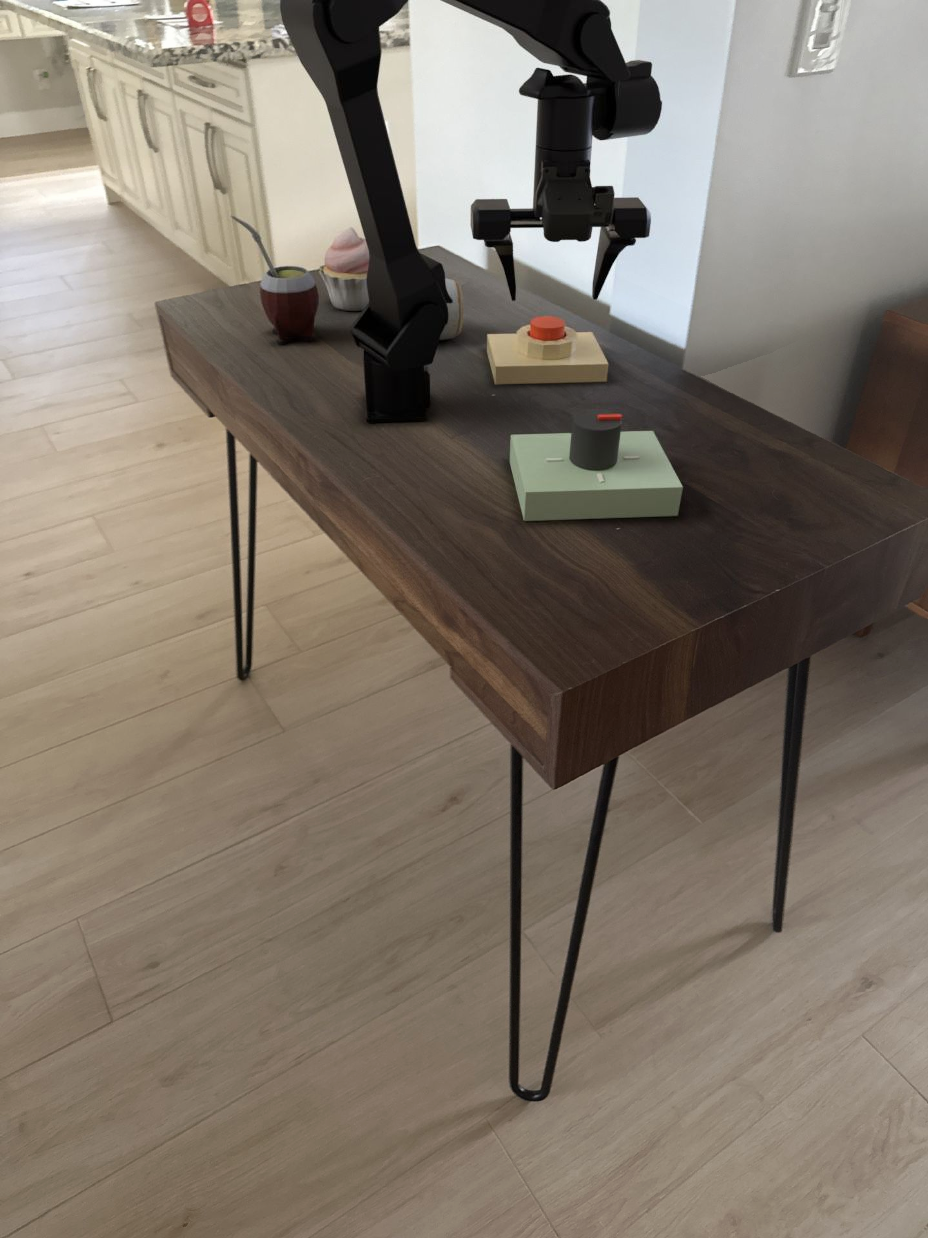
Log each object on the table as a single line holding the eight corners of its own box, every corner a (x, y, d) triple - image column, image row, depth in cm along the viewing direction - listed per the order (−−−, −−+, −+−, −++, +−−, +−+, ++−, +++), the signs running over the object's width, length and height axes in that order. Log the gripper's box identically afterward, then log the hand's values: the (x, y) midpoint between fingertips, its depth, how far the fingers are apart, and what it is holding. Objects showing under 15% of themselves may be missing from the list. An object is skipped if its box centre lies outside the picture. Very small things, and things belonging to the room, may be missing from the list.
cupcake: (403, 302, 125) (400, 226, 118) (356, 320, 119) (351, 241, 113) (354, 288, 129) (349, 214, 123) (307, 305, 123) (299, 228, 117)
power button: (532, 343, 104) (532, 328, 102) (527, 330, 107) (528, 316, 106) (566, 342, 104) (567, 327, 103) (560, 329, 107) (561, 315, 106)
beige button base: (495, 384, 103) (496, 350, 101) (486, 351, 111) (487, 319, 109) (606, 381, 104) (610, 348, 102) (590, 348, 112) (593, 317, 109)
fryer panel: (523, 521, 80) (525, 490, 78) (509, 462, 89) (510, 432, 87) (677, 516, 81) (683, 485, 79) (648, 457, 90) (653, 428, 88)
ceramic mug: (465, 346, 112) (466, 283, 107) (400, 350, 111) (397, 287, 106) (450, 318, 120) (450, 258, 116) (389, 321, 119) (386, 261, 114)
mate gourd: (332, 332, 116) (321, 207, 106) (296, 353, 110) (282, 223, 101) (284, 322, 118) (270, 199, 109) (247, 342, 113) (229, 214, 103)
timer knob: (573, 471, 81) (577, 427, 78) (565, 448, 84) (569, 405, 82) (621, 469, 81) (627, 426, 79) (611, 447, 85) (616, 404, 82)
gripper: (476, 163, 85) (475, 326, 95) (672, 161, 86) (651, 323, 95) (470, 139, 94) (469, 291, 103) (648, 138, 94) (630, 288, 104)
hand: (554, 299), depth 101 cm, fingers open, 9 cm apart
